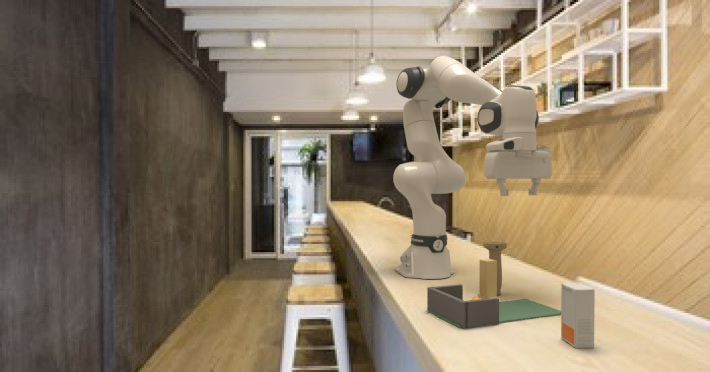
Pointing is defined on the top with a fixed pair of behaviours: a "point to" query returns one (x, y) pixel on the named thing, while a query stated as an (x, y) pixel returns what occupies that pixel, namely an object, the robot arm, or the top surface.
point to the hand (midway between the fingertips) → (518, 195)
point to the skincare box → (577, 315)
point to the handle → (495, 254)
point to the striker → (488, 279)
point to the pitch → (517, 311)
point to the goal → (462, 307)
